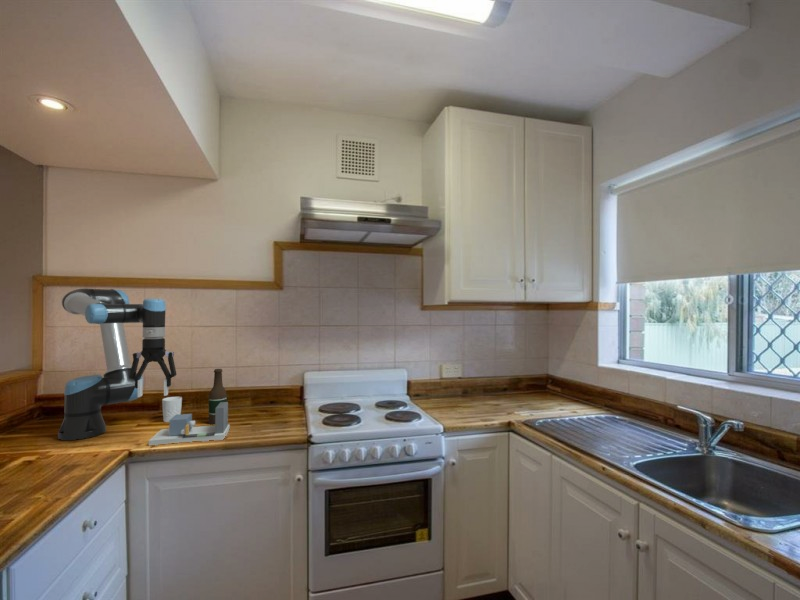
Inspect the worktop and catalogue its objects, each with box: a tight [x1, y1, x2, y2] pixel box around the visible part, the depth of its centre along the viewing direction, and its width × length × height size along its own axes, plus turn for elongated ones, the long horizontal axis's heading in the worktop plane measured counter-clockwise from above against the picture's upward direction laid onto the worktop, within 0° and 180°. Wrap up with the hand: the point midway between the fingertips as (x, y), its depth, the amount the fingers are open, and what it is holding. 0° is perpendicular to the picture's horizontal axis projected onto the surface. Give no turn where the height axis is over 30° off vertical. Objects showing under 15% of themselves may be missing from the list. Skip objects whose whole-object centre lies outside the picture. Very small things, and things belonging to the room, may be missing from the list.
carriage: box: [168, 413, 197, 436], centre depth 151 cm, size 8×11×6 cm
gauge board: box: [148, 401, 231, 446], centre depth 154 cm, size 26×14×12 cm, turn 105°
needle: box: [185, 424, 189, 435], centre depth 148 cm, size 1×2×4 cm, turn 15°
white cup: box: [161, 396, 183, 423], centre depth 177 cm, size 8×8×10 cm
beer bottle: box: [208, 368, 228, 425], centre depth 174 cm, size 8×8×24 cm
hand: (153, 395), depth 150 cm, fingers open, 8 cm apart
